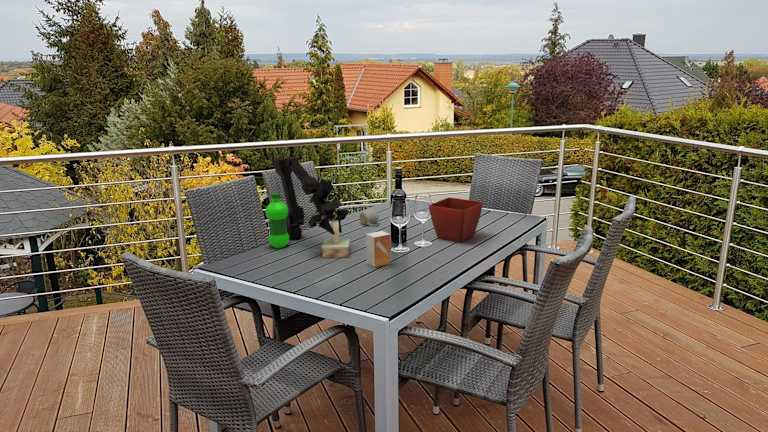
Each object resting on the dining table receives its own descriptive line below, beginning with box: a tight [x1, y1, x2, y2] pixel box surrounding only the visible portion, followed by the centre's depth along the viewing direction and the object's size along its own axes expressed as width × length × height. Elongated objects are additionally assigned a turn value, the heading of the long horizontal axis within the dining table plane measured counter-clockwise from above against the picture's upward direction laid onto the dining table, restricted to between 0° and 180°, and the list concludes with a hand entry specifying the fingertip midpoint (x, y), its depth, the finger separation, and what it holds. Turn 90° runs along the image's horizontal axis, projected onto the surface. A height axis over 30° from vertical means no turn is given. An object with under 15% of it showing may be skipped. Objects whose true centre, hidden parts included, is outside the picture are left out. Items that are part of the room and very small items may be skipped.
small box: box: [365, 230, 392, 268], centre depth 226 cm, size 8×6×13 cm
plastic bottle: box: [264, 192, 290, 249], centre depth 251 cm, size 10×10×25 cm
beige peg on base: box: [321, 220, 351, 250], centre depth 240 cm, size 11×11×11 cm
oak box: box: [321, 243, 351, 259], centre depth 242 cm, size 11×11×4 cm
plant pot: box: [428, 197, 484, 244], centre depth 259 cm, size 19×19×17 cm
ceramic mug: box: [359, 208, 380, 227], centre depth 287 cm, size 11×8×8 cm
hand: (337, 233), depth 239 cm, fingers open, 4 cm apart
